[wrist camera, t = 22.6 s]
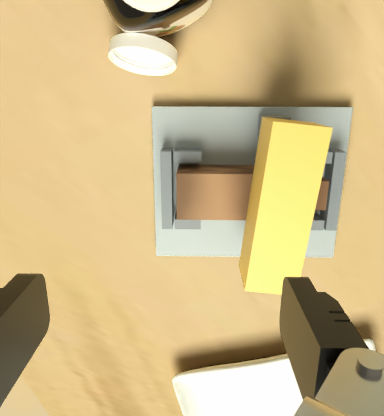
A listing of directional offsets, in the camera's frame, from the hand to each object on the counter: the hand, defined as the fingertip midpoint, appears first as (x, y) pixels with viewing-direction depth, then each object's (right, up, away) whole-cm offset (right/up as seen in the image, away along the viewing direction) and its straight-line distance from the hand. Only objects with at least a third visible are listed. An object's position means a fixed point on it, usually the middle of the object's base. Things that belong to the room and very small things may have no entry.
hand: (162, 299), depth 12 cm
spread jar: (-2, +23, +26) cm, 35 cm away
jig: (+8, +6, +32) cm, 33 cm away
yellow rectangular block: (+9, +4, +26) cm, 28 cm away
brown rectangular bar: (+7, +6, +30) cm, 32 cm away
